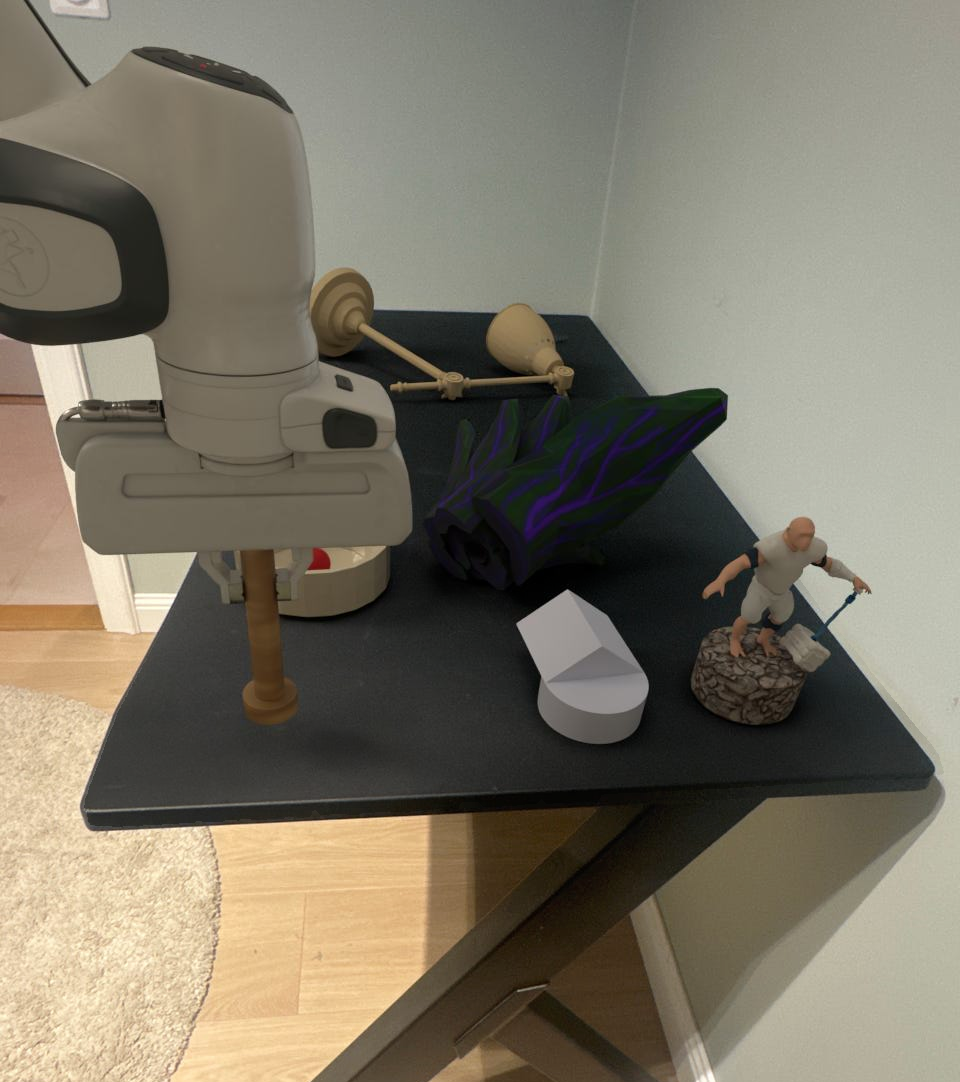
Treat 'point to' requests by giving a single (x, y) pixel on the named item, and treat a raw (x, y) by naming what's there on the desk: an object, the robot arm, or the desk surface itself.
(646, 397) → the decorative plant
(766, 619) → the figurine
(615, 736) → the wedge on round base
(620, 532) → the desk surface
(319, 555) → the berry
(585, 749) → the desk surface
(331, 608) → the bowl
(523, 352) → the desk lamp
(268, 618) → the wooden pestle
